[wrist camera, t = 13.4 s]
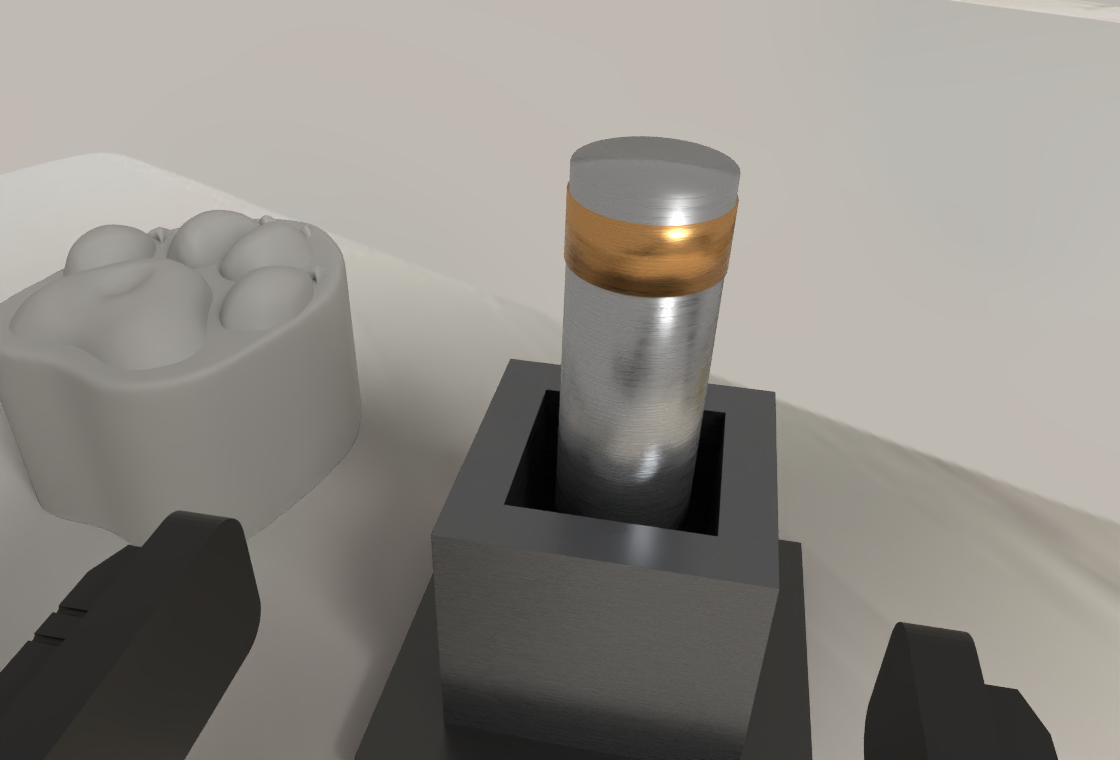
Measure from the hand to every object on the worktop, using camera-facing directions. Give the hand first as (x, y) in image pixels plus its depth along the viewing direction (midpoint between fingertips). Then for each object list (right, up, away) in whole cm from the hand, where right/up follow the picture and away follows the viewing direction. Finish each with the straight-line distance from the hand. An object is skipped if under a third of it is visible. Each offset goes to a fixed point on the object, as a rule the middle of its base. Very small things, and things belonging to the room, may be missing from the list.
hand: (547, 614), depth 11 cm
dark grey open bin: (+2, -6, +17) cm, 18 cm away
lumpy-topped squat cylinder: (-14, 0, +26) cm, 30 cm away
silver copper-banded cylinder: (+2, -4, +16) cm, 16 cm away
